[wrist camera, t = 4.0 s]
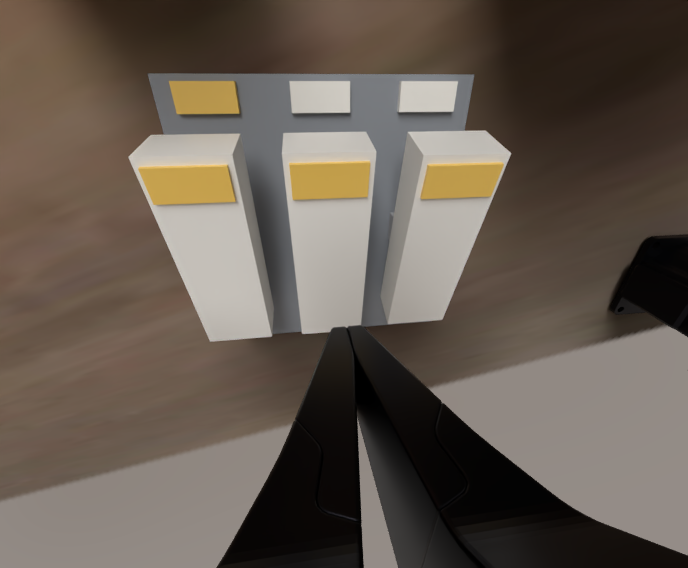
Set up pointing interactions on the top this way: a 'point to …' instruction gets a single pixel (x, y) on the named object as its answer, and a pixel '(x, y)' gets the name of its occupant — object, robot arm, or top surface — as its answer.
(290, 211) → the rocker middle
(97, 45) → the top surface
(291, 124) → the console
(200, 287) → the block
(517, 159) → the top surface
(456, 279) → the block
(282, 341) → the top surface
